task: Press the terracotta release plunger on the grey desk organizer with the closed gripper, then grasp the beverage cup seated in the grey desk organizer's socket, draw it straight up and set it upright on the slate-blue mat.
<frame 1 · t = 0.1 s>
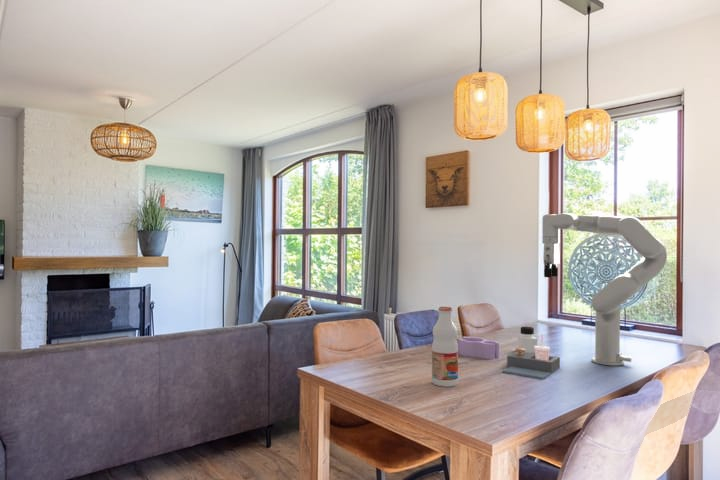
hand: (550, 276, 221), 37 cm above the table, tool pointing down, fingers open, 9 cm apart
beverage cup: (541, 369, 195), resting in grey desk organizer
grey desk organizer: (533, 367, 197), on the table
plunger: (520, 354, 201), point 4 cm above the table, slide at 0.0 cm
clip: (477, 355, 220), on the table
mat: (526, 373, 187), on the table
medicine bottle: (527, 351, 228), on the table
fruit juice: (444, 384, 173), on the table
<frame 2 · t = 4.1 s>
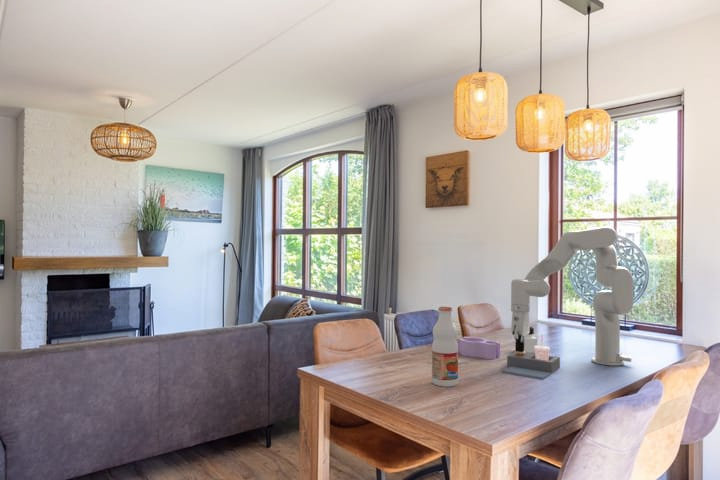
hand: (519, 351, 201), 6 cm above the table, tool pointing down, fingers closed
plunger: (520, 357, 201), point 3 cm above the table, slide at 1.1 cm, touching gripper
everything else where it was.
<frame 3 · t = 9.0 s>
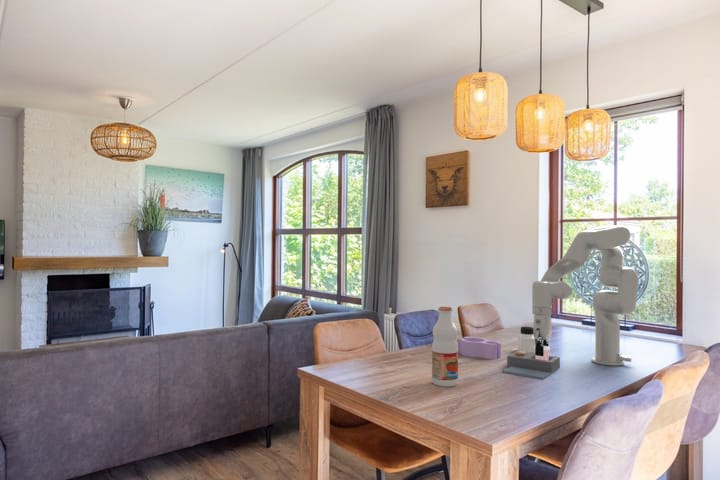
hand: (541, 353, 195), 6 cm above the table, tool pointing down, fingers closed on beverage cup, 6 cm apart
beverage cup: (541, 369, 195), resting in grey desk organizer, touching gripper
plunger: (520, 357, 201), point 3 cm above the table, slide at 1.3 cm
everything else where it was.
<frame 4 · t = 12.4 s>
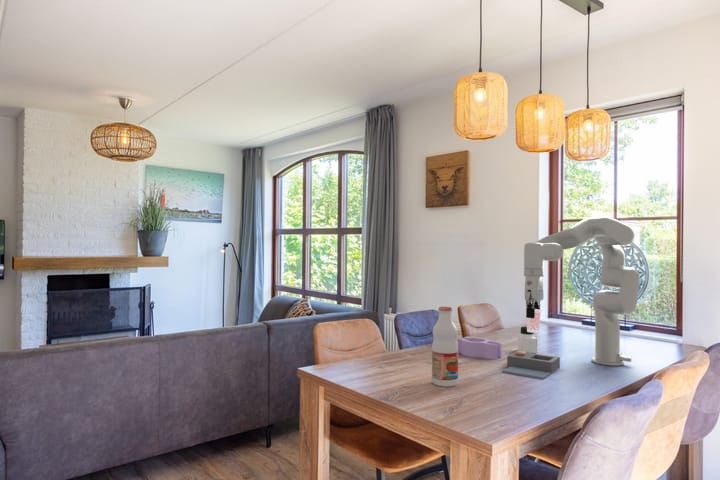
hand: (533, 316, 191), 22 cm above the table, tool pointing down, fingers closed on beverage cup, 6 cm apart
beverage cup: (533, 332, 191), point 16 cm above the table, touching gripper
when the fingers open (8 cm above the table, at t = 15.8 s): beverage cup drops 1 cm, resting on mat.
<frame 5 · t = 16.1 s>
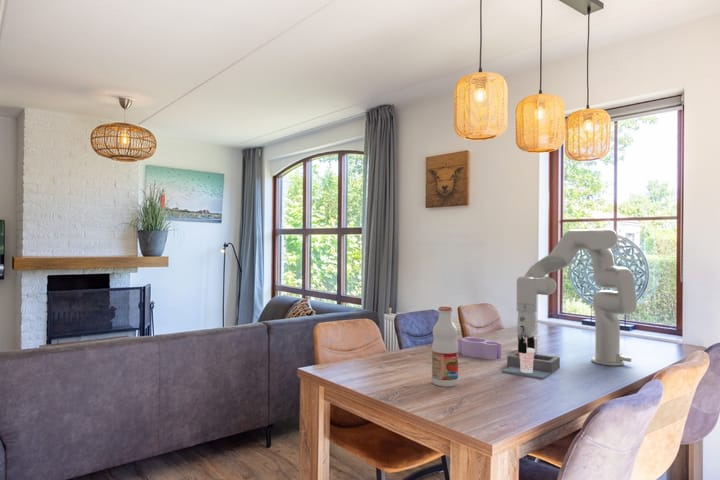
hand: (526, 350, 187), 9 cm above the table, tool pointing down, fingers open, 9 cm apart
beverage cup: (526, 372, 187), point 1 cm above the table, touching mat
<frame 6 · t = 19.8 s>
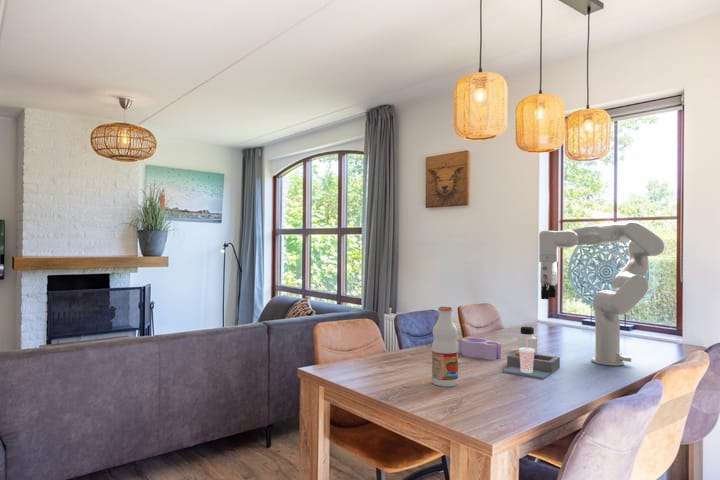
hand: (548, 298, 205), 28 cm above the table, tool pointing down, fingers open, 9 cm apart
at the end: plunger slide at 1.3 cm; beverage cup inside the target area on the mat (0.1 cm from its centre), point 0.6 cm above the mat's base; beverage cup tilted 0° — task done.
